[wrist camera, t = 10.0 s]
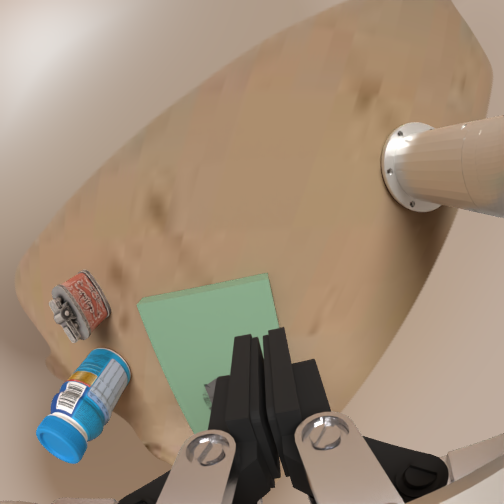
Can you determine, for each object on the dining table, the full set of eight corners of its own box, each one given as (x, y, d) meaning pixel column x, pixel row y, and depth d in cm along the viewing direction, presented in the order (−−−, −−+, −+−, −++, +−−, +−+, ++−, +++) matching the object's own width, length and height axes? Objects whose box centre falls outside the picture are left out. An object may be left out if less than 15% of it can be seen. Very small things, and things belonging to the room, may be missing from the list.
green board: (142, 297, 40) (136, 304, 38) (267, 272, 39) (268, 278, 37) (197, 425, 46) (195, 435, 44) (297, 412, 45) (298, 422, 43)
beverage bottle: (141, 369, 43) (94, 460, 24) (118, 393, 45) (74, 474, 25) (101, 336, 42) (36, 414, 23) (82, 362, 44) (24, 435, 24)
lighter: (74, 275, 40) (36, 298, 30) (88, 265, 39) (51, 289, 30) (100, 319, 41) (69, 351, 32) (115, 312, 41) (85, 345, 31)
